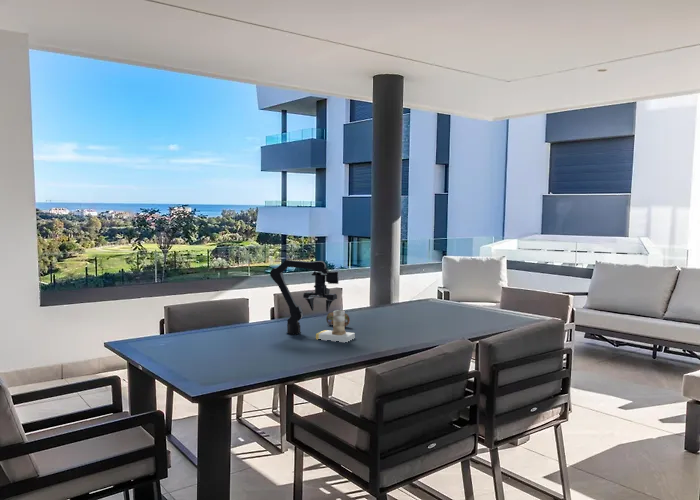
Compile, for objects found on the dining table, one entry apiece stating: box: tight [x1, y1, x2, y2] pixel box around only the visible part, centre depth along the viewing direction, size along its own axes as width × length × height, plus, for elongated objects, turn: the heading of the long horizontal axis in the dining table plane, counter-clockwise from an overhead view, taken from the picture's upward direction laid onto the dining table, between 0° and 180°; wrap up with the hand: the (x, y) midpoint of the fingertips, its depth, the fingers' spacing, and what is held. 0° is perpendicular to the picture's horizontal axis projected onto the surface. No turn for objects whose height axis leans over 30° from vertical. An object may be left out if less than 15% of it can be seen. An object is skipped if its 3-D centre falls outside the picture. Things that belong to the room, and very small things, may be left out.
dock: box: [315, 329, 356, 343], centre depth 290 cm, size 18×11×3 cm, turn 67°
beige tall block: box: [331, 309, 347, 335], centre depth 289 cm, size 6×6×12 cm
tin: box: [326, 312, 351, 327], centre depth 324 cm, size 15×3×8 cm, turn 62°
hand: (319, 311), depth 301 cm, fingers open, 9 cm apart
